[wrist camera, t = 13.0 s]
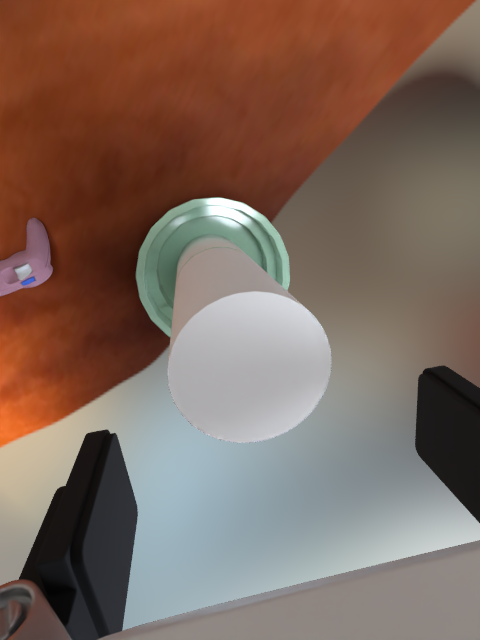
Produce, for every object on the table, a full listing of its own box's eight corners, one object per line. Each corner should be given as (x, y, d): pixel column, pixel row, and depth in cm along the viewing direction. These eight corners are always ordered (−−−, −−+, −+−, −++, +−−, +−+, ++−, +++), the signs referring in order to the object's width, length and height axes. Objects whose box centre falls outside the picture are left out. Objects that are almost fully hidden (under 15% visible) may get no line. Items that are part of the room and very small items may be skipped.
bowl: (133, 319, 41) (126, 336, 35) (154, 182, 37) (149, 180, 31) (259, 339, 43) (269, 358, 38) (290, 215, 39) (306, 217, 34)
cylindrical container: (185, 306, 40) (187, 458, 17) (170, 240, 38) (149, 310, 14) (249, 293, 41) (337, 423, 17) (238, 228, 38) (324, 276, 15)
